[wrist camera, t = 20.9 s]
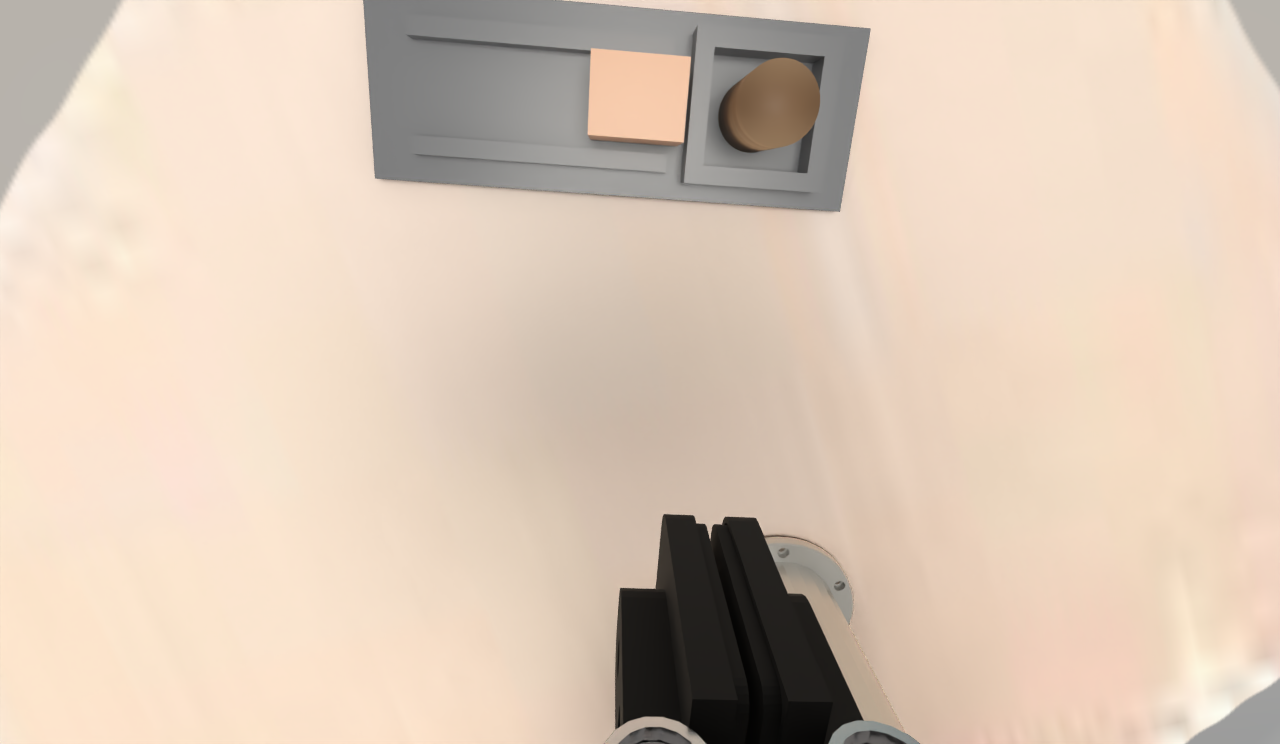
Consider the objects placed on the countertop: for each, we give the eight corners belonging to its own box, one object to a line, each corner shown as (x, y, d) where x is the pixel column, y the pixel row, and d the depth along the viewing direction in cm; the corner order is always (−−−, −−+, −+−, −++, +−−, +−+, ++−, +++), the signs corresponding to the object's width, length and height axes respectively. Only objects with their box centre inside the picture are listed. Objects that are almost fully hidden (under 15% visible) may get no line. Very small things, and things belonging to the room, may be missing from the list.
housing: (834, 210, 37) (852, 213, 34) (381, 178, 36) (361, 178, 33) (863, 32, 34) (885, 19, 31) (369, -12, 32) (345, -31, 30)
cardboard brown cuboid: (676, 146, 34) (683, 142, 31) (590, 139, 34) (587, 134, 30) (682, 70, 33) (691, 56, 29) (593, 63, 33) (590, 47, 29)
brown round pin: (780, 155, 35) (812, 150, 29) (714, 149, 35) (733, 143, 29) (791, 81, 34) (826, 61, 28) (722, 75, 34) (744, 53, 28)
